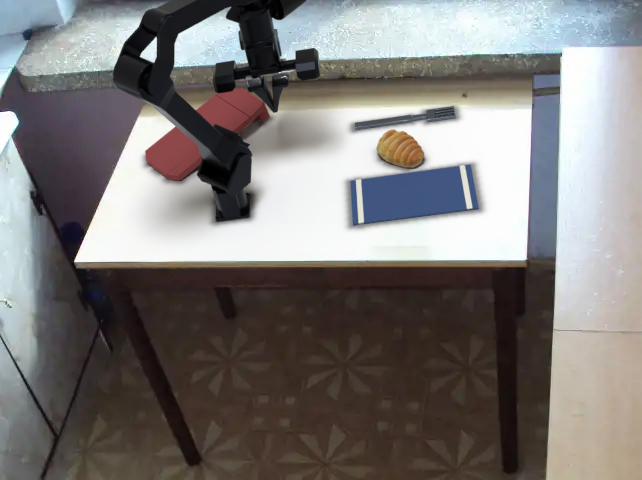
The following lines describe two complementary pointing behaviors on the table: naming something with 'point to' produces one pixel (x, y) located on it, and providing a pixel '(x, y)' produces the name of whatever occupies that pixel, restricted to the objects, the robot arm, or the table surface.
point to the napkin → (413, 194)
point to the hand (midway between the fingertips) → (275, 111)
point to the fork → (410, 118)
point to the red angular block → (222, 109)
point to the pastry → (400, 149)
